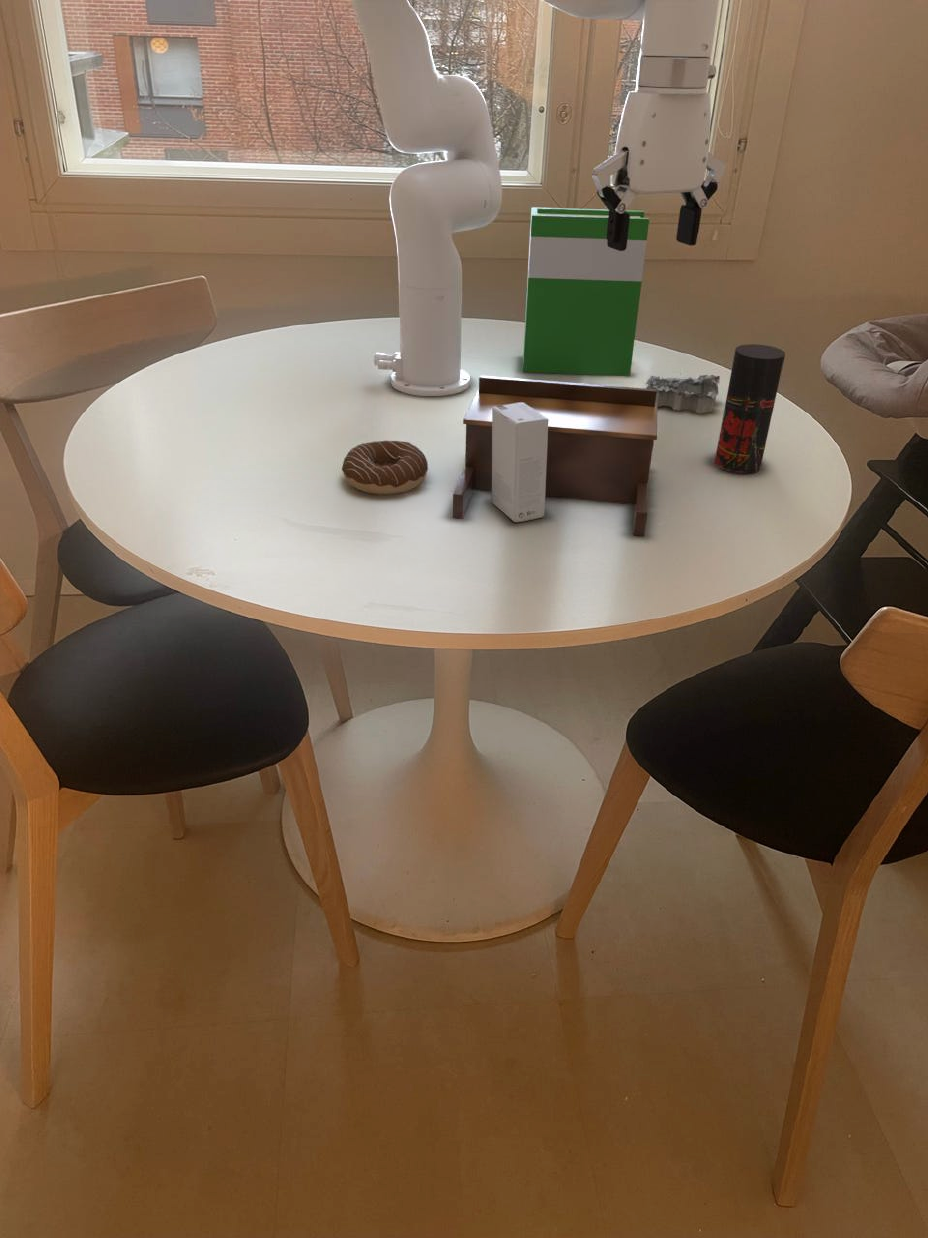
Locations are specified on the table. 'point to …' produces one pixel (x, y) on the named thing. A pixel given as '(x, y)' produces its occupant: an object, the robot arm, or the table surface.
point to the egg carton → (686, 392)
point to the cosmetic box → (519, 461)
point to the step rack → (570, 440)
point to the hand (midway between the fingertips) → (651, 245)
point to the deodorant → (749, 408)
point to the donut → (385, 467)
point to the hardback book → (582, 293)
